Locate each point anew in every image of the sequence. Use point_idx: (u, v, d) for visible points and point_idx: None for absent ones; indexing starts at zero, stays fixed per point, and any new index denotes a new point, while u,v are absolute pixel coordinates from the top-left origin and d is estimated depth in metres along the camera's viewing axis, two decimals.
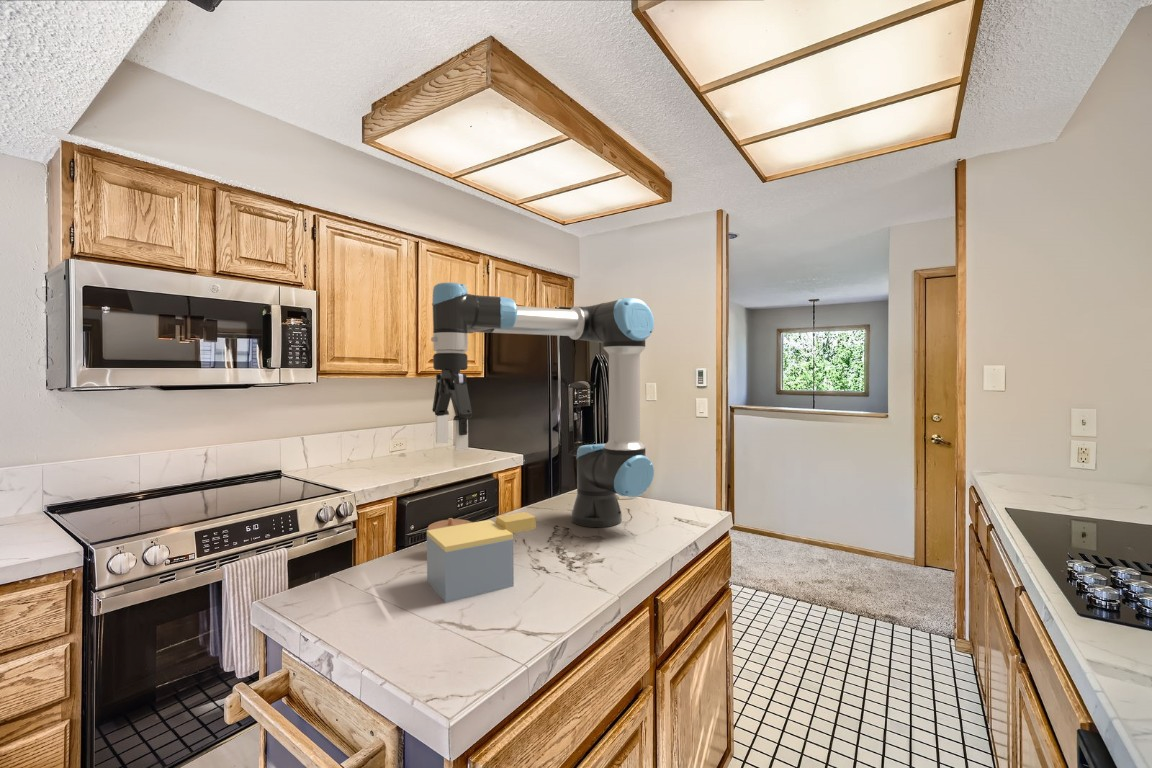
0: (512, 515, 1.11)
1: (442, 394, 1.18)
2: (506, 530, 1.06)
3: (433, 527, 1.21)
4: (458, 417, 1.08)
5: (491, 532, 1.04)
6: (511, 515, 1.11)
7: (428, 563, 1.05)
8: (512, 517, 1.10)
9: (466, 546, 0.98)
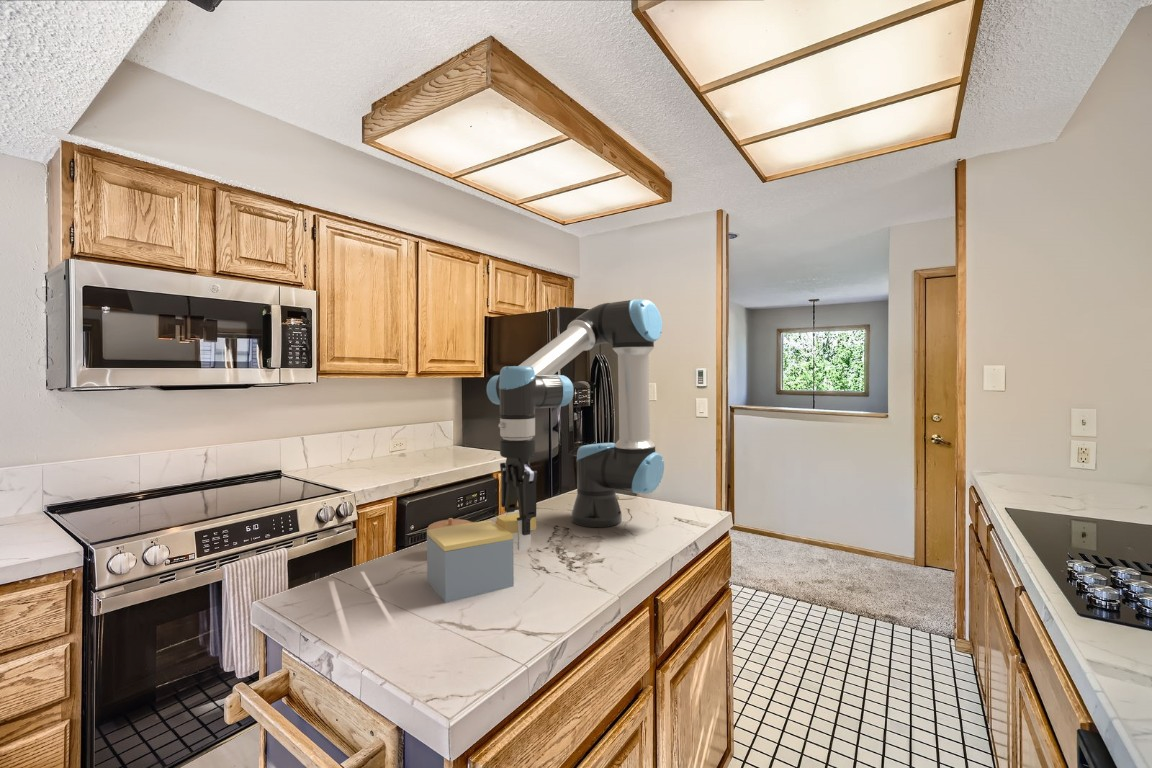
0: (513, 515, 1.11)
1: (511, 483, 1.11)
2: (506, 530, 1.05)
3: (433, 527, 1.21)
4: (522, 518, 1.06)
5: (491, 532, 1.04)
6: (511, 515, 1.11)
7: (428, 563, 1.05)
8: (512, 517, 1.09)
9: (465, 546, 0.98)
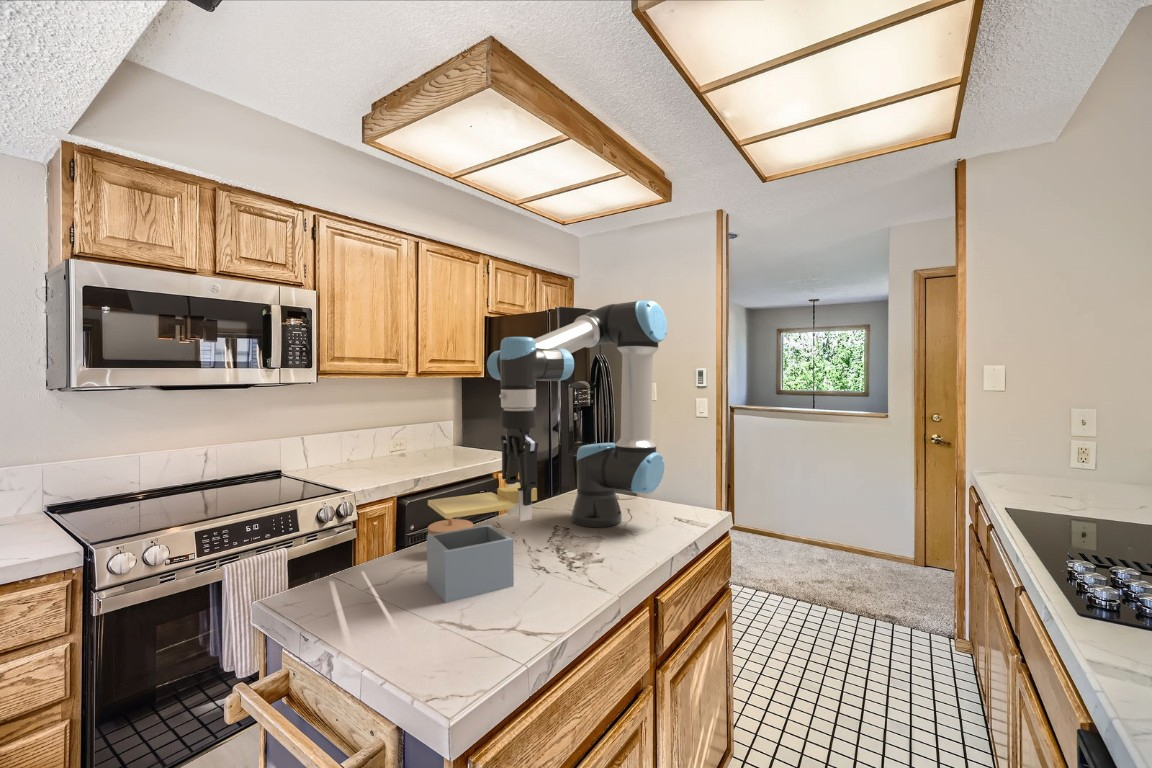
0: (514, 487, 1.11)
1: (511, 455, 1.11)
2: (507, 500, 1.05)
3: (433, 527, 1.21)
4: (523, 489, 1.06)
5: (492, 501, 1.04)
6: (512, 487, 1.11)
7: (428, 563, 1.05)
8: (513, 489, 1.09)
9: (467, 514, 0.98)
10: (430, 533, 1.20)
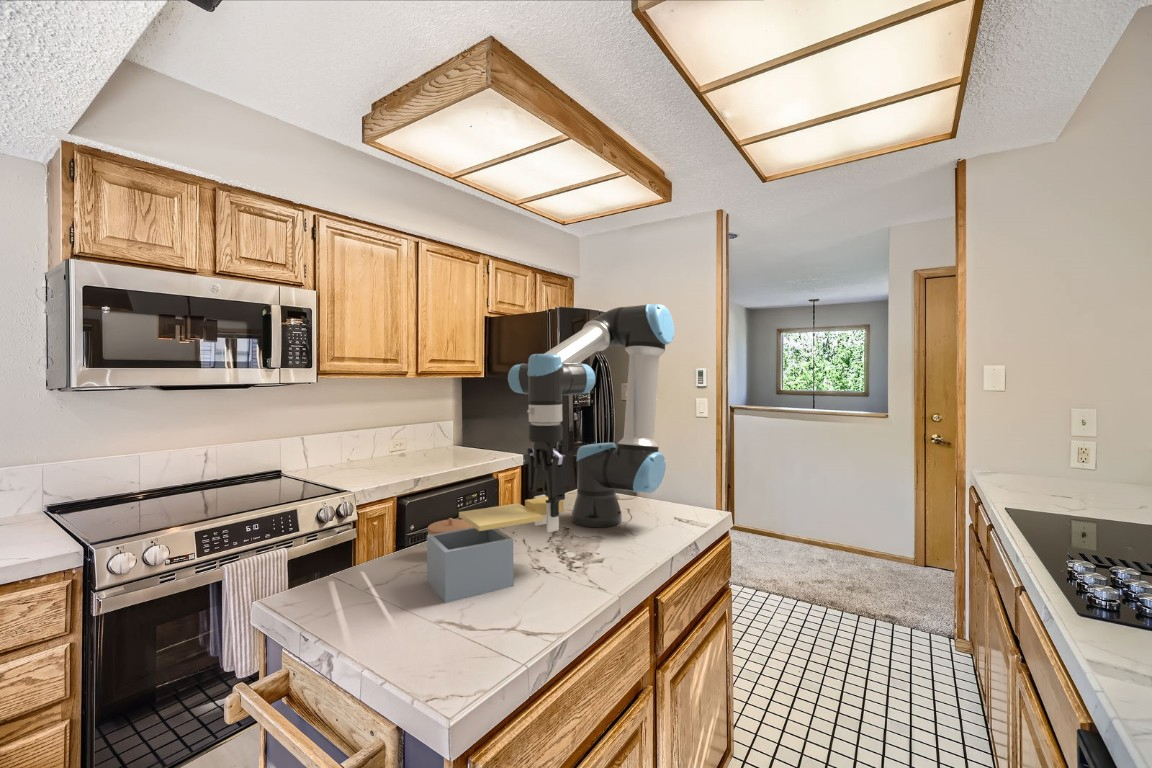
0: (541, 498, 1.15)
1: (539, 468, 1.15)
2: (536, 512, 1.09)
3: (433, 527, 1.21)
4: (551, 501, 1.10)
5: (521, 513, 1.08)
6: (539, 499, 1.15)
7: (428, 563, 1.05)
8: (541, 500, 1.13)
9: (499, 526, 1.02)
10: (430, 533, 1.20)
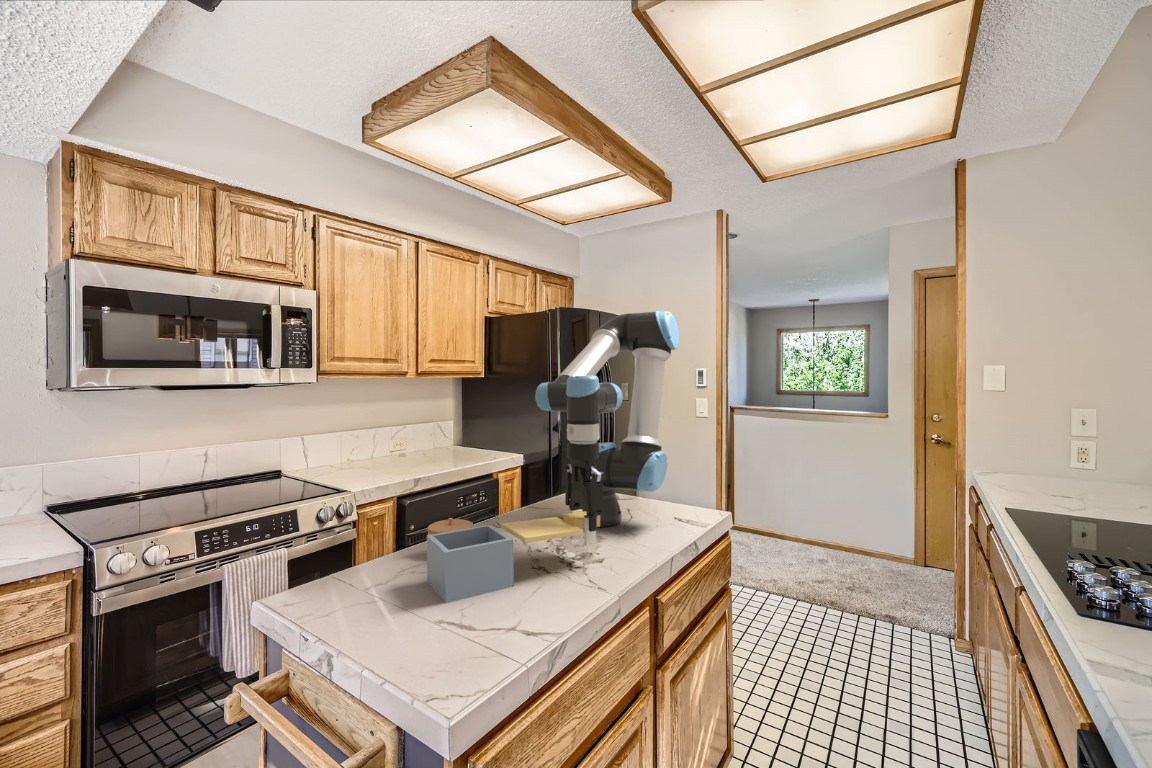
0: (578, 513, 1.20)
1: (576, 484, 1.20)
2: (575, 526, 1.14)
3: (433, 527, 1.21)
4: (589, 516, 1.15)
5: (561, 527, 1.13)
6: (577, 513, 1.20)
7: (428, 563, 1.05)
8: (579, 515, 1.18)
9: (543, 538, 1.07)
10: (430, 533, 1.20)
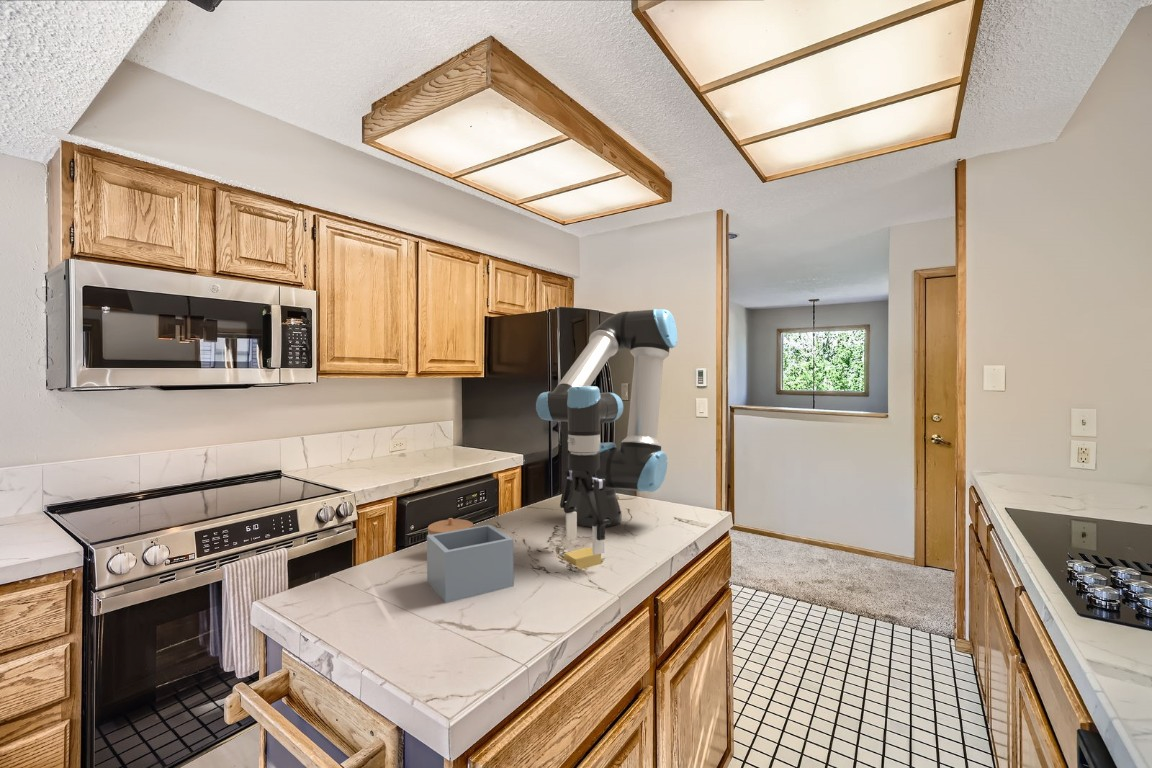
0: (579, 551, 1.20)
1: (574, 492, 1.21)
2: None
3: (433, 527, 1.21)
4: (598, 524, 1.12)
5: None
6: (577, 551, 1.20)
7: (428, 563, 1.05)
8: (579, 553, 1.19)
9: None
10: (430, 533, 1.20)
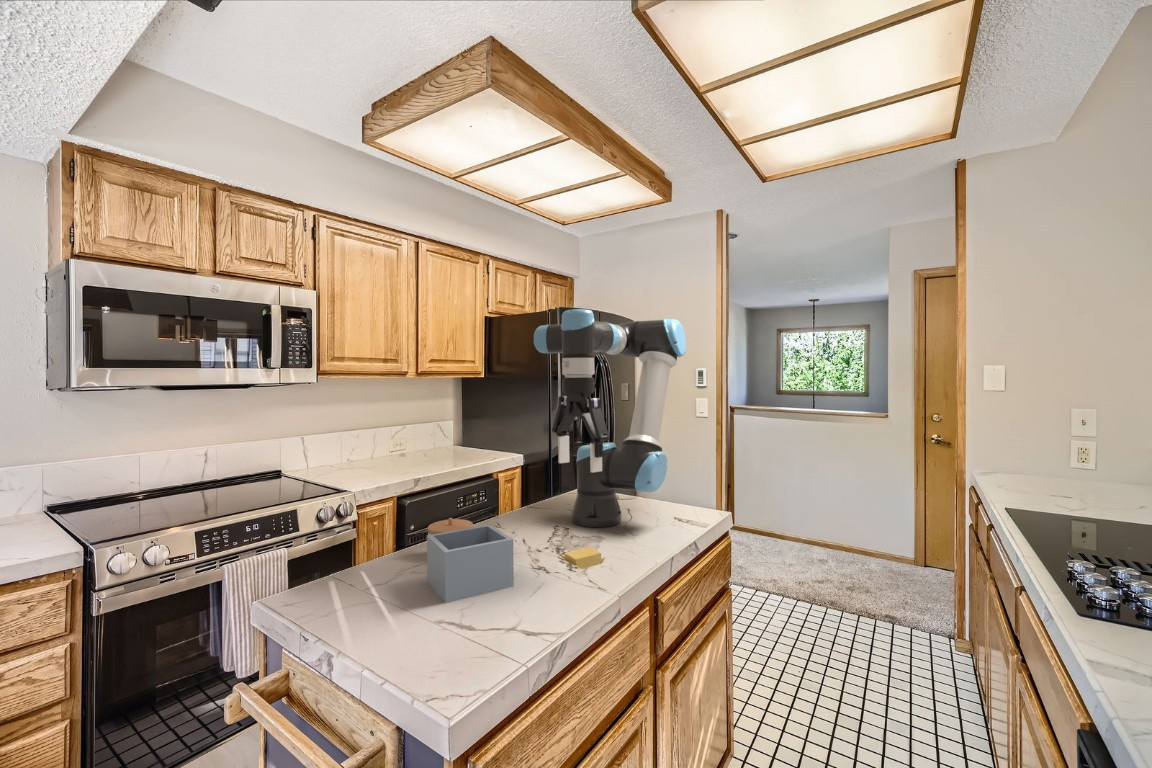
0: (579, 551, 1.20)
1: (568, 416, 1.22)
2: None
3: (433, 527, 1.21)
4: (595, 440, 1.12)
5: None
6: (578, 551, 1.20)
7: (428, 563, 1.05)
8: (580, 553, 1.19)
9: None
10: (430, 533, 1.20)
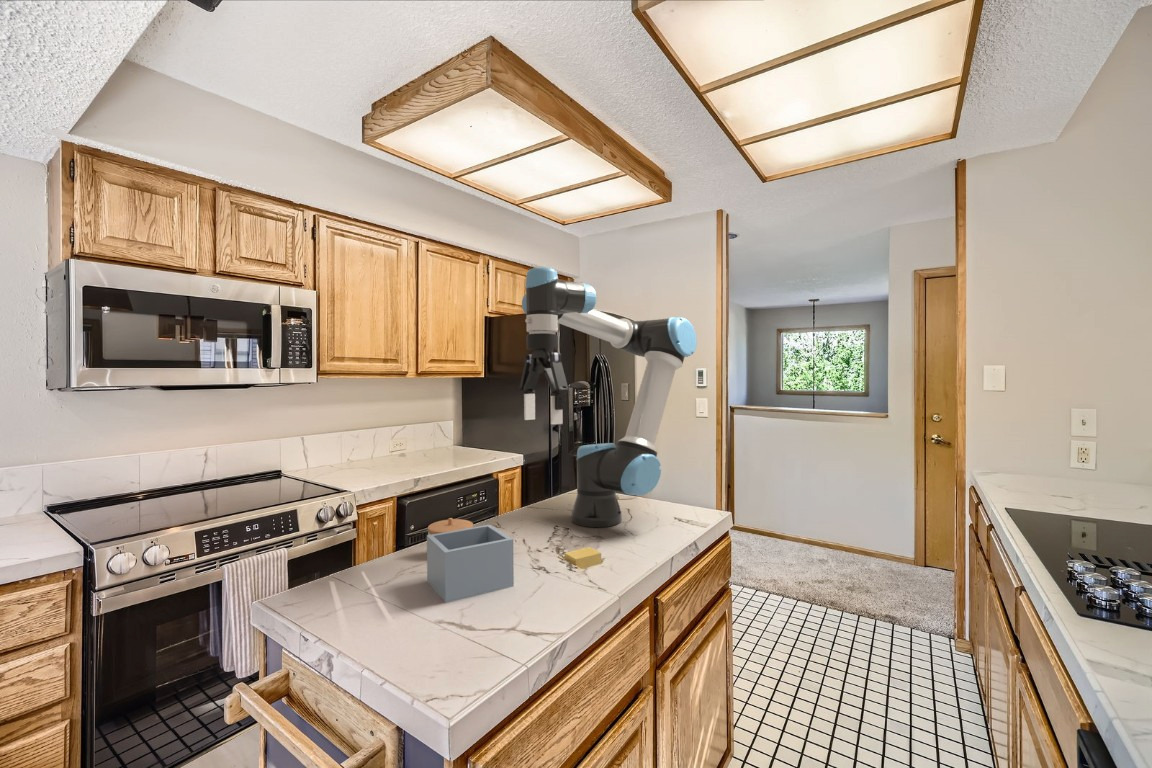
0: (579, 551, 1.21)
1: (532, 373, 1.25)
2: None
3: (433, 527, 1.21)
4: (555, 393, 1.15)
5: None
6: (578, 551, 1.20)
7: (428, 563, 1.05)
8: (580, 553, 1.19)
9: None
10: (430, 533, 1.20)
